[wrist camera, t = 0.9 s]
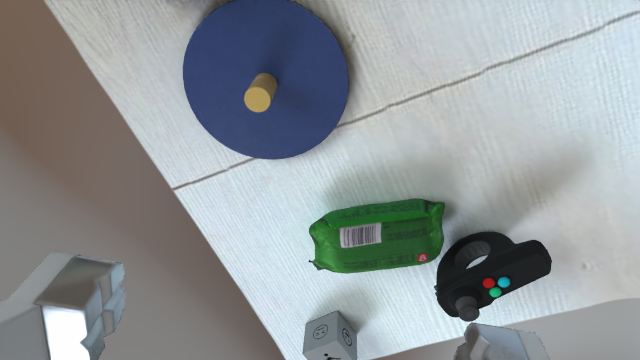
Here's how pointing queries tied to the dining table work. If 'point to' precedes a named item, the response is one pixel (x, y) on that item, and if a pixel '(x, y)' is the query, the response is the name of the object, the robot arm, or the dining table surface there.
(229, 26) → the tin lid
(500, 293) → the controller
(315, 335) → the dice cube
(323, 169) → the dining table surface
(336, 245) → the snack package
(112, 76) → the dining table surface
